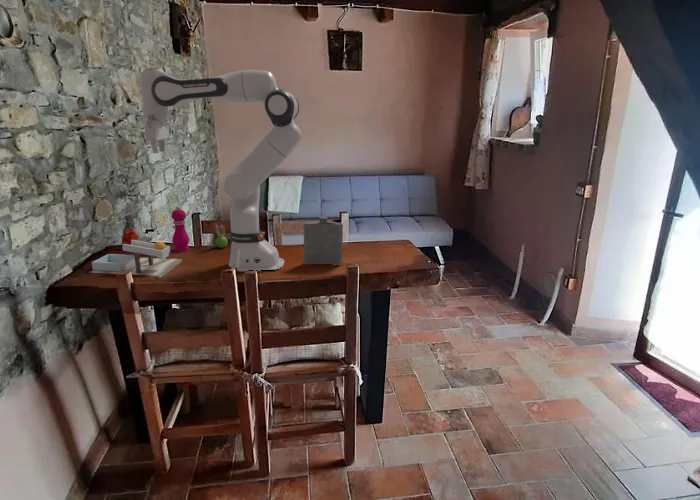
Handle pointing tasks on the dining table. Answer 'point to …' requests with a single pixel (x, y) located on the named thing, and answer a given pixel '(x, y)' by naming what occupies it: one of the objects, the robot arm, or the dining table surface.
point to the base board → (149, 266)
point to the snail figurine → (221, 236)
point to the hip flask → (323, 242)
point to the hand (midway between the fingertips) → (159, 152)
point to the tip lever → (146, 248)
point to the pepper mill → (180, 231)
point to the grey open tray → (113, 263)
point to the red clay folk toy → (129, 235)
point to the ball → (159, 245)
